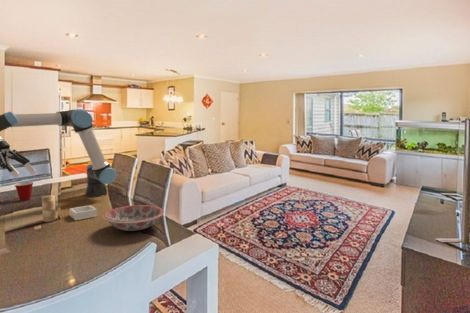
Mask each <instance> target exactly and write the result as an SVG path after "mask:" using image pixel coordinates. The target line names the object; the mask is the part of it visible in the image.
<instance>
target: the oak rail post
mask: <svg viewBox="0 0 470 313" xmlns="http://www.w3.org/2000/svg"><path fill="white" fill-rule="evenodd" d="M41 210H42V212H41V213H42V221H43V222H45V223H49V222H53V221H56V220H57V214H56V210H57V209H56V196H55V195H52V194H51V195H43V196H41Z"/></svg>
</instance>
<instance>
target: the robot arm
mask: <svg viewBox="0 0 470 313" xmlns="http://www.w3.org/2000/svg"><path fill="white" fill-rule="evenodd" d="M93 119H94V118H93V116H92V114H91V113H90V112H89V111H88V110H86V109H82V108H78V109H69V110H64V111H63V110H62V111H56V112H54V113H53V112H51V113H13V112H12V111H8V112H4V113H2V114H0V133H1V132H3V131H5V130H7V129H9V128H21V127H22V128H23V127H38V126H39V127H41V126H59V127H71V128H73V129H72V130H73V131H74V133H75V134H78V135H79V138H80V140H81V142H82V144H83V146H84V149H85V151H86V153H87V155H88V157H89V160H90V162H91V164H87V165H86V180H87V182H86V189H85V192H84V196H85V195H86V196H85V197H88V196H97V197H102V195H104V196H106V195H105V194H107V193H108V189H107V186H106V185H109V184H112V183H113V182H114V181H115V179H116V177H117V171H116V170H115V169H114V168H113V167H111V164H110V162H109V161H107V160H106V158H105V156H104V154H103V152H102V149H101V147H100V145H99V142H98V141H97V138H96V135H95V133H94V131H93V128H94V125H93ZM10 147H11V145H10V144H9V142H7V141H6V140H5V138H3V136H2V135H1V134H0V168H2V169H3V170H5V169H6V170H7V171H8V172H9V174H11V175H12V176H13V178H17V177H18V176H19V175H20V172H19V171H18V170H17V169H16V168H15V167H14V166H13V165H12V164H10V160H9V159H11V160H14V161H15V162H18V163H20V164H21V165H23V167H24V168H25V169H26V171H28V172H29V173H30V174H31V175H34V174H35V173H36V172H37V170H36V169H35V168H34V167H33V166H32V165H31V164H30V162H31V161H30V160H29V159H28V158H26V157H25V156H24V155H23V154H21V153H20V152H18V151H17V150H16V149H12V150H11V149H10ZM107 195H108V194H107Z"/></svg>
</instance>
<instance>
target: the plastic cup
mask: <svg viewBox="0 0 470 313" xmlns="http://www.w3.org/2000/svg"><path fill="white" fill-rule="evenodd" d="M13 185H14V187H15V188H16V191H17V192H16V193H17V195H18V198H19V201H20V200H22V201H21V202H25V200H28V201H30V200H31V199H32V198H31V197H32V191H33V185H34V181H23V182H18V183H14V184H13Z"/></svg>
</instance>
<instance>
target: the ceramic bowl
mask: <svg viewBox="0 0 470 313" xmlns="http://www.w3.org/2000/svg"><path fill="white" fill-rule="evenodd" d="M164 214H165V212H164V209H163V208H161V207H159V206H157V205H149V204H148V205H146V204H137V205H136V204H135V205H125V206H120V207H116V208H112V209H110V210H108V211H106V212H104V213H103V220H105V221H107V222H108V223H109V224H110V225H111V226H112V227H114V228H115V229H117V230H120V231H124V232H135V231H141V230H146V229H148V228H149V227H152V226H153V225H154V224H156V223H157V221H158V220H159V219H160V217H162V216H163V215H164Z"/></svg>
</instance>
